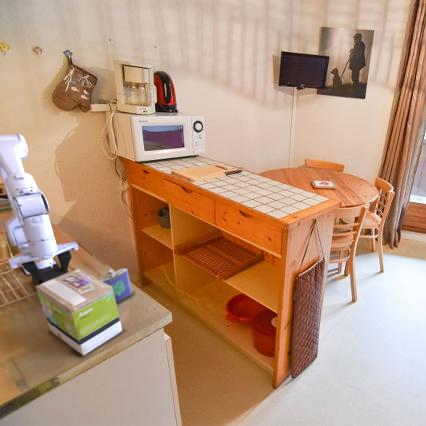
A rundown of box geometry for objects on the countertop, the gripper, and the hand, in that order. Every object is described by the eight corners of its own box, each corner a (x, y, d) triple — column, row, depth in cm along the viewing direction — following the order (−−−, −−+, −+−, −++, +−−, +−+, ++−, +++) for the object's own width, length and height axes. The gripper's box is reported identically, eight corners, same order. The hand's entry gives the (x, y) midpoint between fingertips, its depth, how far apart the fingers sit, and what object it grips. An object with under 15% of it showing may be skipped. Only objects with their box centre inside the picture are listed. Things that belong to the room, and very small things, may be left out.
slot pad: (38, 280, 92) (35, 269, 90) (59, 273, 95) (56, 263, 94) (48, 295, 86) (45, 284, 85) (70, 287, 90) (67, 277, 88)
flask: (129, 291, 98) (123, 261, 94) (134, 294, 97) (129, 265, 93) (97, 306, 91) (89, 275, 87) (102, 311, 90) (94, 279, 86)
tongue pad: (33, 281, 99) (30, 272, 98) (53, 275, 103) (50, 265, 102) (44, 299, 92) (41, 289, 91) (65, 291, 96) (63, 282, 95)
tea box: (48, 332, 81) (32, 285, 75) (90, 310, 90) (79, 266, 84) (82, 357, 75) (68, 307, 69) (124, 331, 83) (114, 285, 78)
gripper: (6, 252, 77) (22, 297, 82) (77, 233, 88) (87, 275, 93) (0, 242, 81) (16, 285, 86) (69, 225, 92) (79, 265, 97)
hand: (52, 279), depth 90 cm, fingers closed on slot pad, 5 cm apart
